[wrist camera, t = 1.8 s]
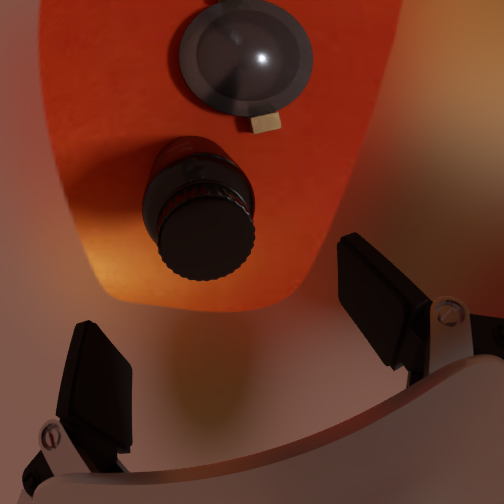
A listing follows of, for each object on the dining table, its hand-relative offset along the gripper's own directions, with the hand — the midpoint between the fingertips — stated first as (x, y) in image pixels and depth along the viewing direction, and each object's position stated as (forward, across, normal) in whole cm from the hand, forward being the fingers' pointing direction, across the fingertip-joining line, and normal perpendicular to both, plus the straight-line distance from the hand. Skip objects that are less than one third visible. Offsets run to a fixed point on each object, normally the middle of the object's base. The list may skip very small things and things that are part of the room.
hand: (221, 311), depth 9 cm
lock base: (+16, -7, -10) cm, 20 cm away
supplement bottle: (+16, 0, -1) cm, 16 cm away
